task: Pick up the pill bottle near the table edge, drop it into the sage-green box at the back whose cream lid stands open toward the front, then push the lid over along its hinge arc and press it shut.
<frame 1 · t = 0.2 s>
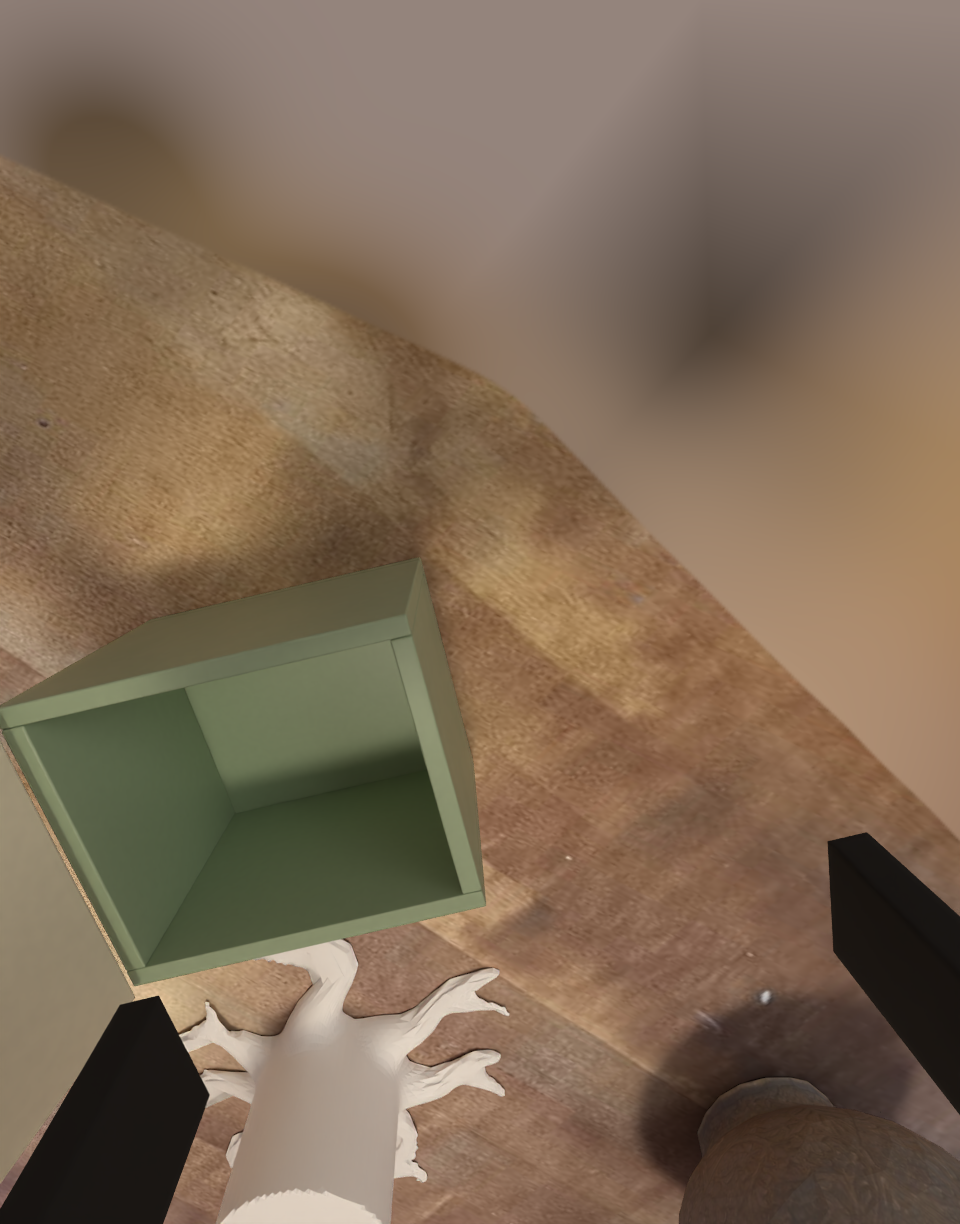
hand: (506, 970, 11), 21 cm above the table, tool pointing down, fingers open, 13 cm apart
pot: (766, 1108, 43), on the table
white tree stump: (343, 1063, 39), on the table
box: (320, 695, 31), on the table
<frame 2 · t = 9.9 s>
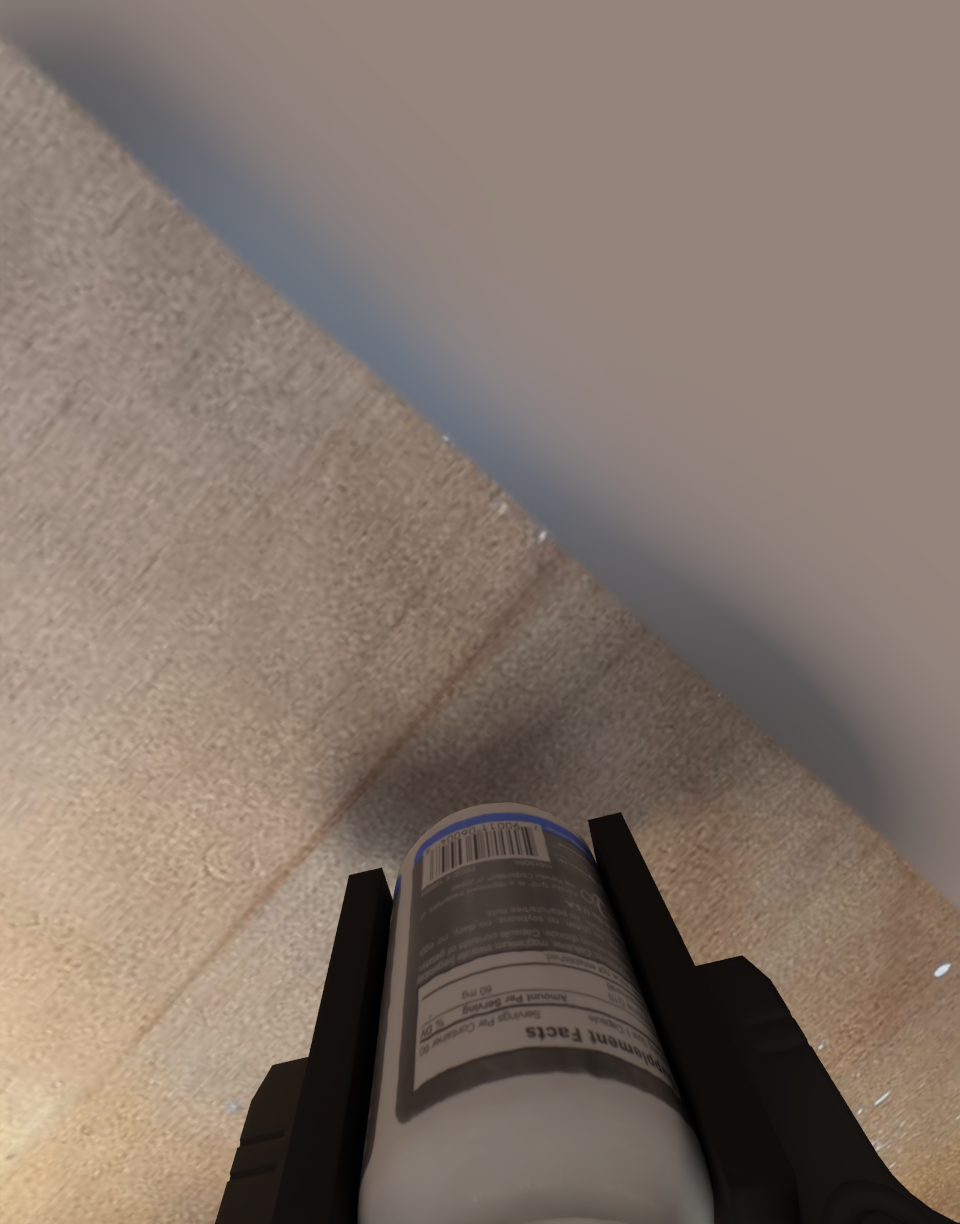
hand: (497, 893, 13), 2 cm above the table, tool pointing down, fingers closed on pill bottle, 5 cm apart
pill bottle: (497, 876, 13), point 2 cm above the table, touching gripper
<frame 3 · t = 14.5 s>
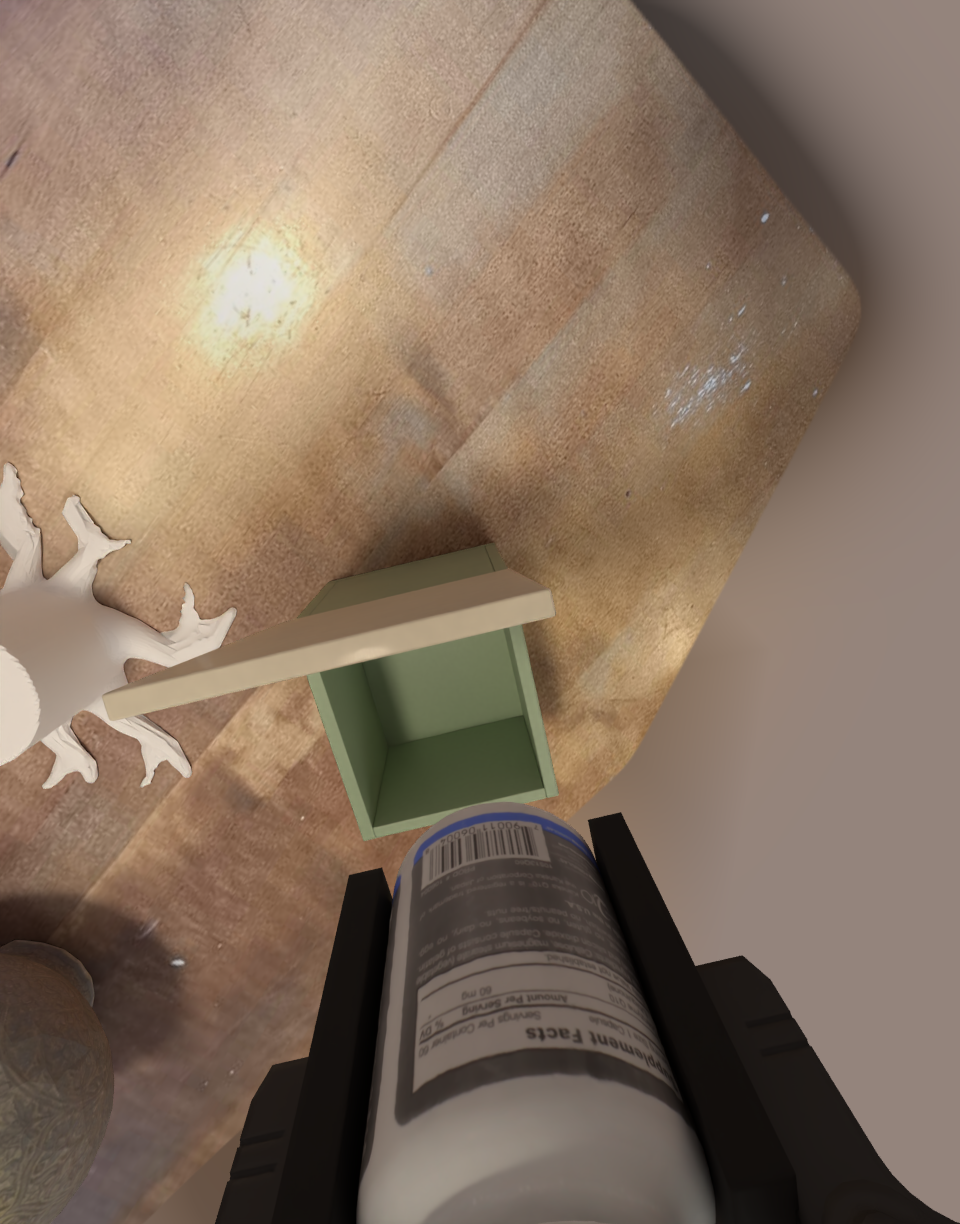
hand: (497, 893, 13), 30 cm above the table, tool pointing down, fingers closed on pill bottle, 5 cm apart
pot: (51, 983, 50), on the table
white tree stump: (63, 652, 42), on the table
lid: (375, 619, 23), point 19 cm above the table, hinge at 100.0°
box: (435, 652, 43), on the table
pill bottle: (497, 876, 13), point 30 cm above the table, touching gripper
when the fingers open (8 cm above the table, at t = 19.4 s): pill bottle drops 7 cm, resting on box.
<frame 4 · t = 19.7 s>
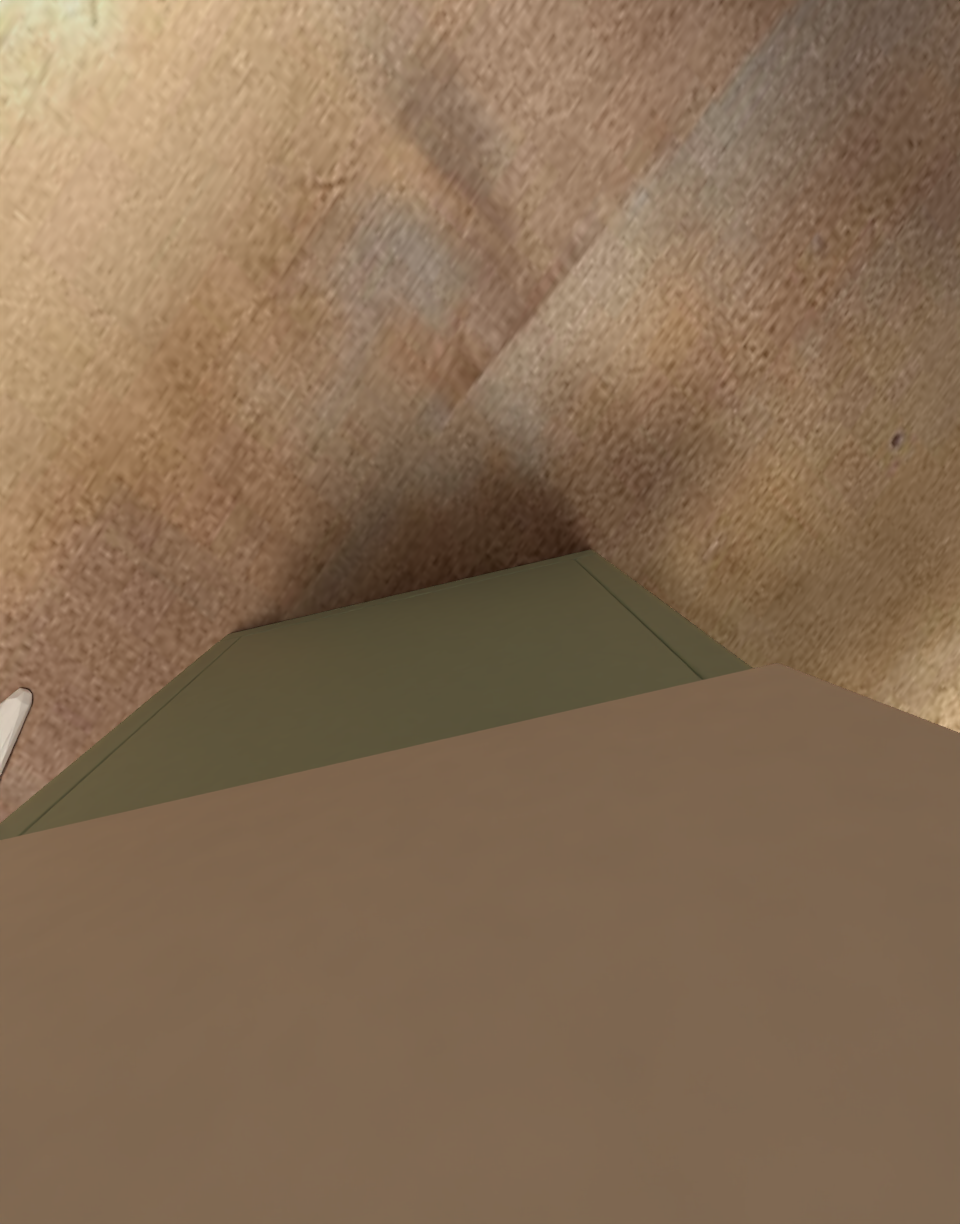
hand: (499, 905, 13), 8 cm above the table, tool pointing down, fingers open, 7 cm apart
box: (459, 776, 21), on the table
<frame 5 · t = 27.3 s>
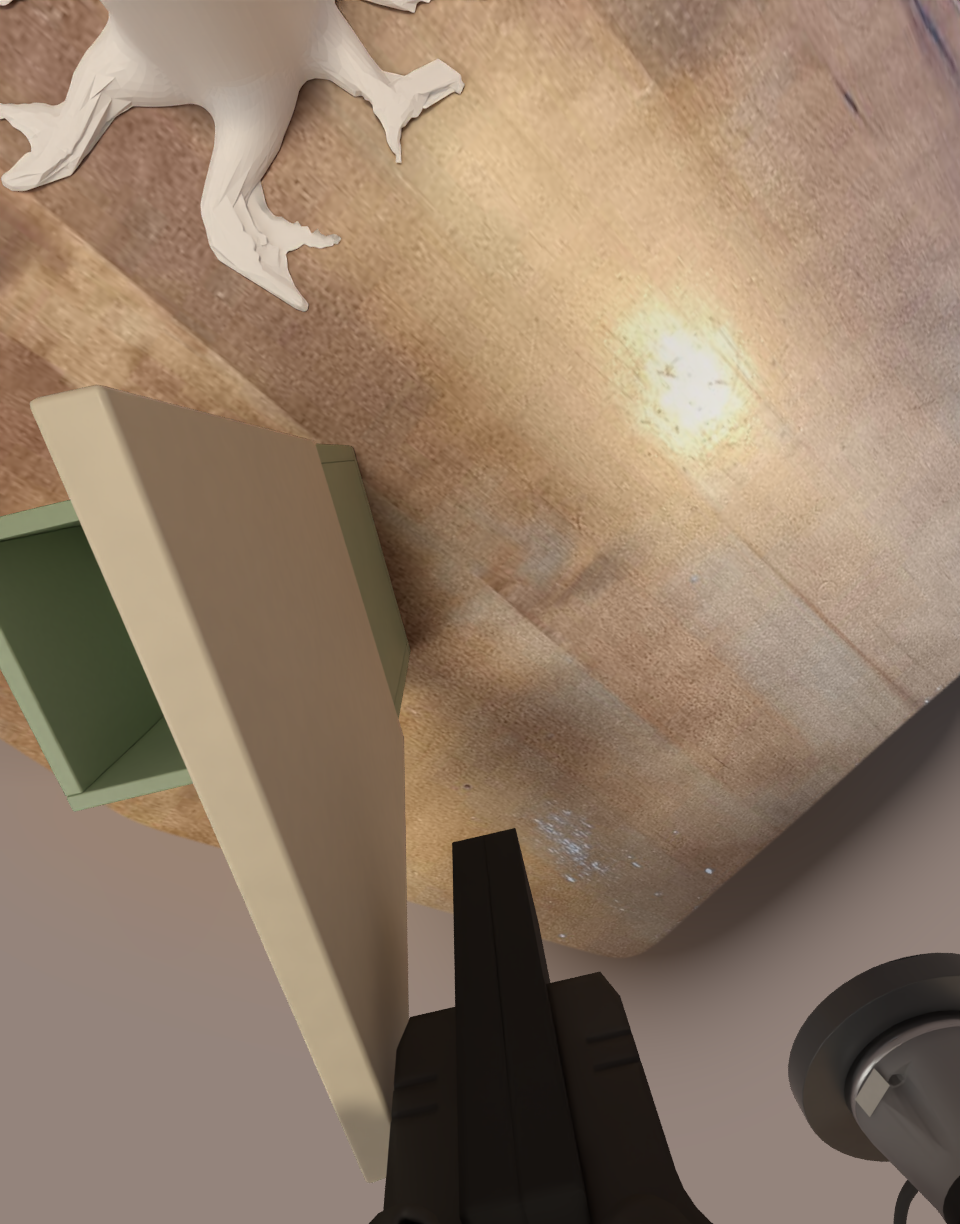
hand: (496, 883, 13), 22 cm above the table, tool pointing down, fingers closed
lid: (330, 672, 15), point 19 cm above the table, hinge at 94.6°, touching gripper
box: (263, 582, 33), on the table
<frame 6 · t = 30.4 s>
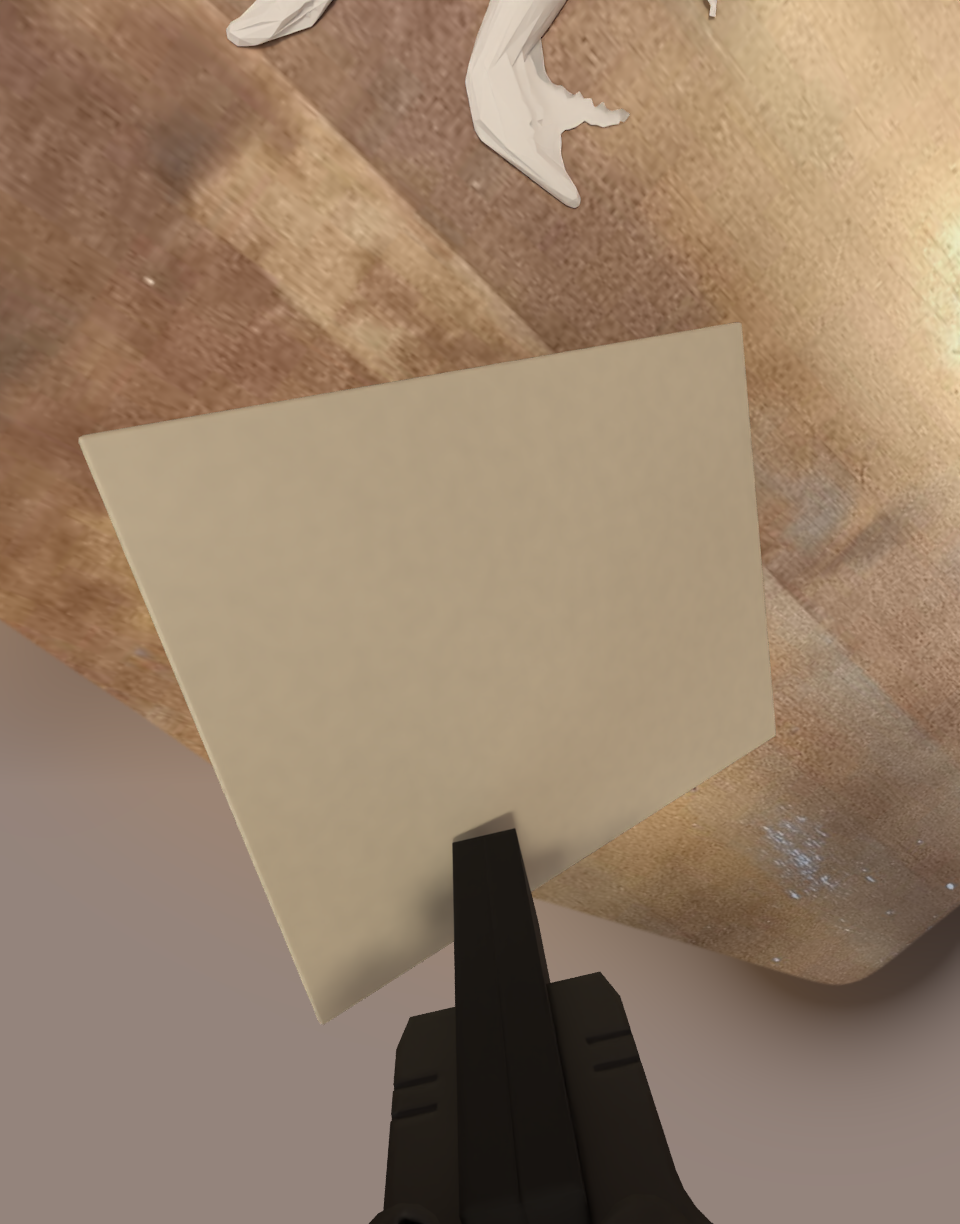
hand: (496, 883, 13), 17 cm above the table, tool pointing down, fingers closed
lid: (543, 636, 14), point 15 cm above the table, hinge at 25.1°, touching gripper
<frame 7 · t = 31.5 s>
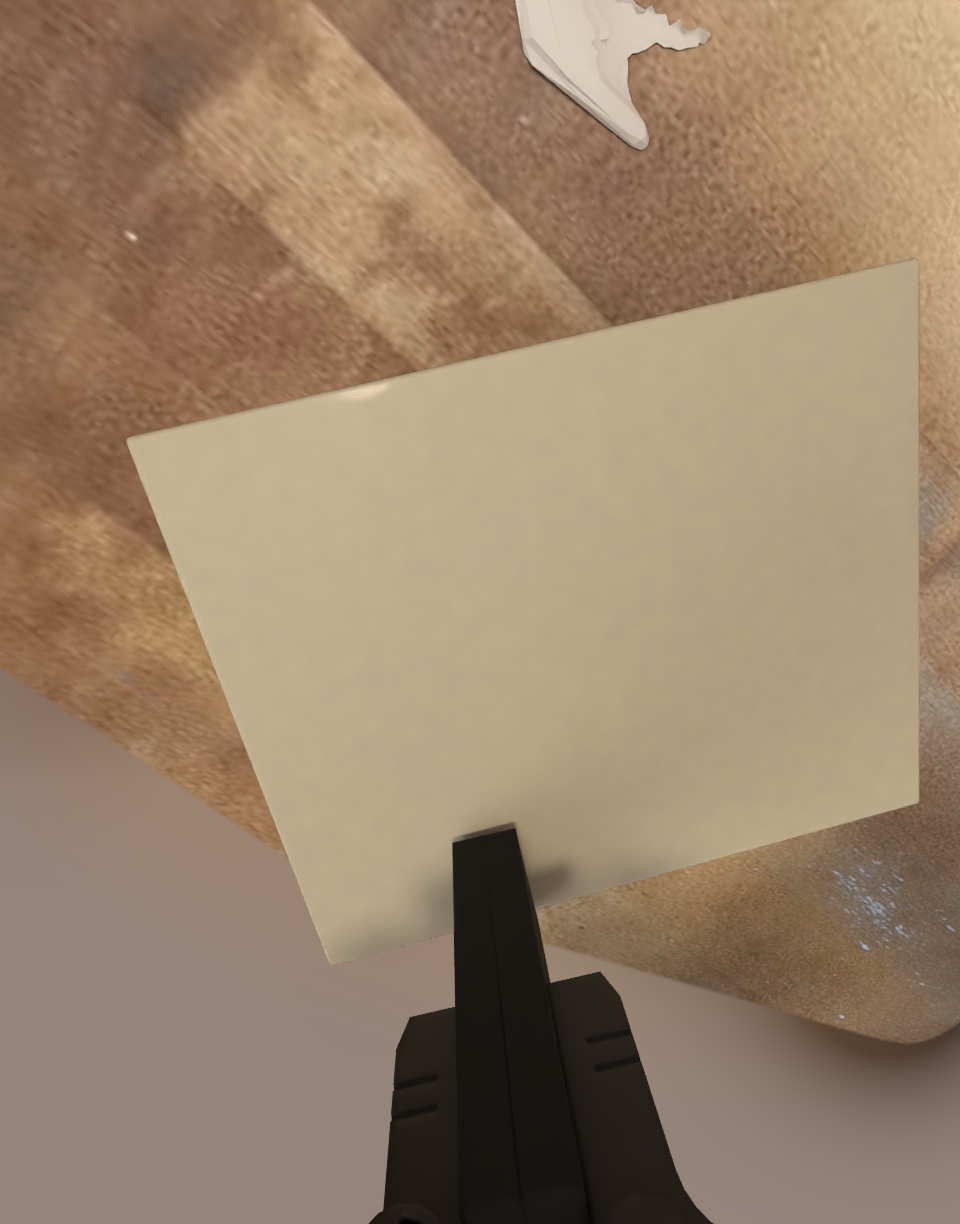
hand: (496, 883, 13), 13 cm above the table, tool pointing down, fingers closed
lid: (586, 647, 13), point 12 cm above the table, hinge at 3.2°, touching gripper
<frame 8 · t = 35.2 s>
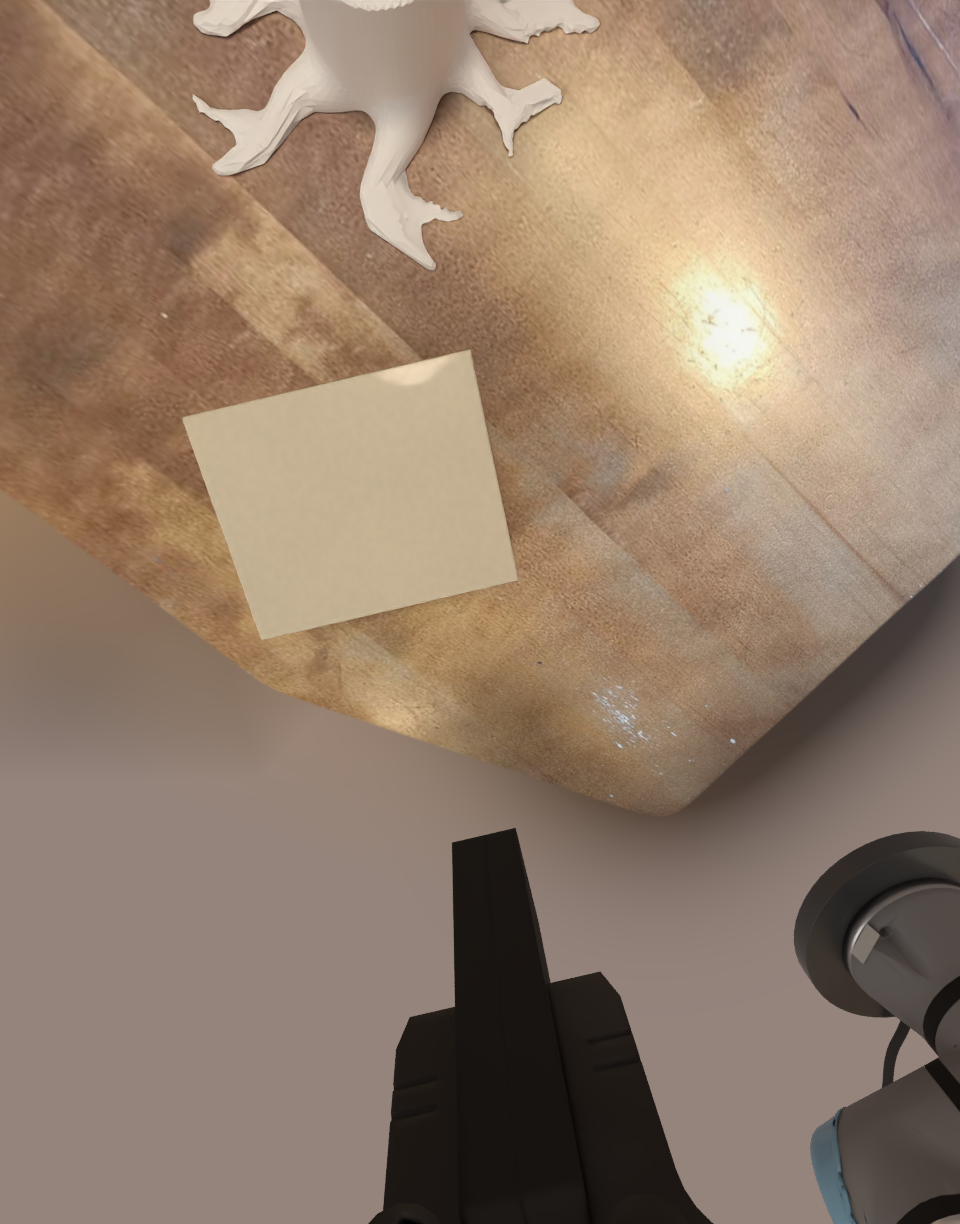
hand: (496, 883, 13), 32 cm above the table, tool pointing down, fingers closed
white tree stump: (377, 29, 35), on the table
lid: (360, 502, 31), point 11 cm above the table, hinge at -0.1°
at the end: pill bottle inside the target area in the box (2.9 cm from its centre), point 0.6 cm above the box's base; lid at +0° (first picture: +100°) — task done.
